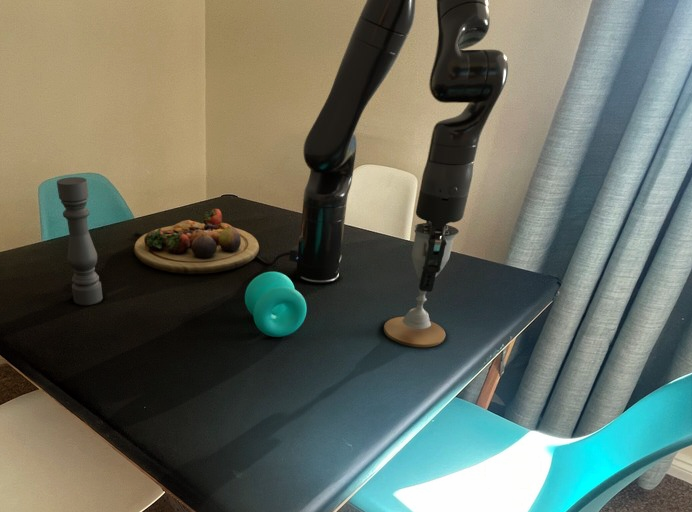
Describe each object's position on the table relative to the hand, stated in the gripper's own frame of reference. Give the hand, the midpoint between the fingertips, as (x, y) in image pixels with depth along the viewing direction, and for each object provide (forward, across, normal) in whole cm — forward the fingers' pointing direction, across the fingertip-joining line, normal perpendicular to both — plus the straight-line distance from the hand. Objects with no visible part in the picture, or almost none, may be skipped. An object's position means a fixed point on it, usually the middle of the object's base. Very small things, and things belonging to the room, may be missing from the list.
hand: (424, 282), depth 100 cm
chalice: (+8, 0, 0) cm, 8 cm away
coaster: (+10, 0, 0) cm, 10 cm away
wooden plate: (+10, -30, -53) cm, 62 cm away
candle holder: (+10, +3, -67) cm, 68 cm away
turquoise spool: (+10, +5, -26) cm, 29 cm away
